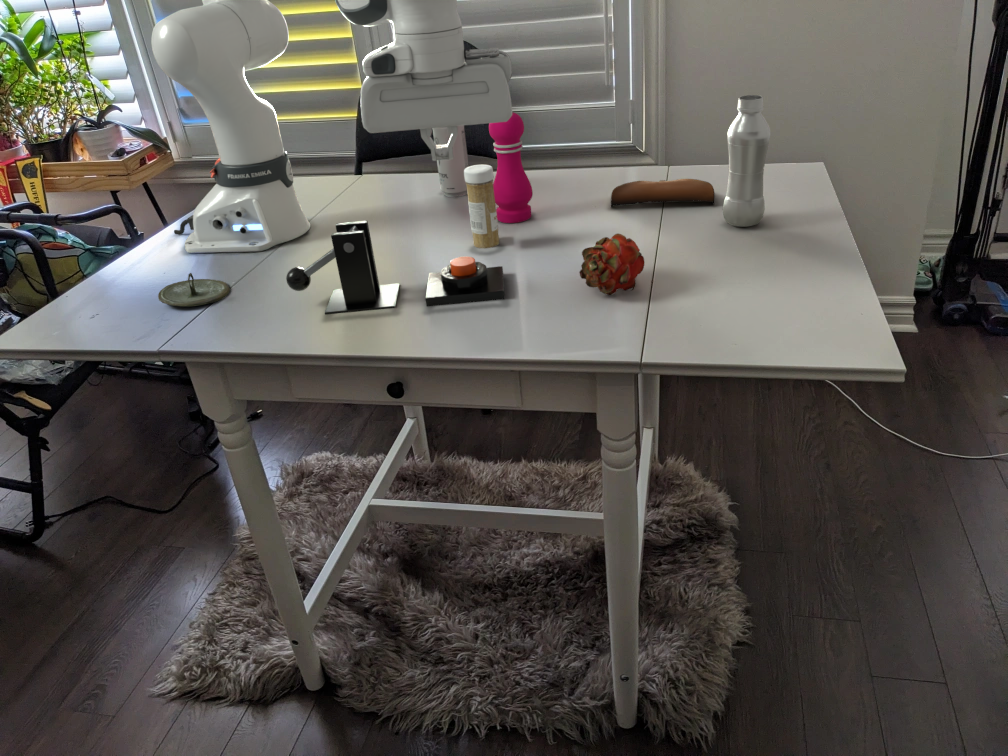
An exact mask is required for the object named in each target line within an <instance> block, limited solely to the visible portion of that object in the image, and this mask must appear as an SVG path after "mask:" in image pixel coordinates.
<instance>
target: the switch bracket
mask: <svg viewBox="0 0 1008 756" xmlns="http://www.w3.org/2000/svg"><path fill="white" fill-rule="evenodd" d="M353 226H356V227H357V228H358V230H359V231H351V232H347V231H348V230H349V229H351V228H352V227H353ZM335 229H336V232H332V233H331V235H330V238H331V242H332V246H333V248H334V253H335V262H336V266H337V271H338V275H339V280H340V281H339V282H340V285H341V288H335V289H332V292H331V295H330V298H329V299H328V300H329V301H328V303H327V305H326V307H325V310H324V315H335V314H346V313H356V312H368V311H378V310H391V309H396V305H397V303H398V302H397V301H398V297H399V292H400V287H401V283H399V282H398V283H390V284H389V283H388V284H380V281H379V276H378V271H377V265H376V260H375V254H374V249H373V243H372V238H371V232H370V227H369V222H368V220H357V221H349V222H348V221H347V222H338V223H336V224H335ZM365 238H366V240H365ZM333 248H332V249H333Z"/></svg>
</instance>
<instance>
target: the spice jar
mask: <svg viewBox="0 0 1008 756" xmlns="http://www.w3.org/2000/svg"><path fill="white" fill-rule="evenodd" d="M464 177H465V182H466V185H467V192H468V193H467V203H468V212H469V220H470V227H471V228H470V229H471V233H472V241H473V247H476V248H478V249H491V248H495V247H497V246H499V244H500V235H499V221H498V220H497V213H496V209H497V204H496V203H495V198H494V189H493V182H494V179H495V176H494V169H493V166H491V165H489V164H485V163H484V164H481V163H480V164H473V165H470V166H469V167H467V168H466V169H465V170H464Z"/></svg>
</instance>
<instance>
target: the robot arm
mask: <svg viewBox="0 0 1008 756" xmlns="http://www.w3.org/2000/svg"><path fill="white" fill-rule="evenodd" d="M201 2H202V5H197V6H193V7H188V8H182V9H179V10H177V11H175V12H173V13H171V14H169V15H168V16H166V17H164V18H163V19H161V20H158V22H157V23H155V25H154V27H153V29H152V32H151V39H150V40H151V41H150V42H151V49H152V53H153V54H152V55H153V57H154V59H155V62H156V63H157V65H158V67H159V68H160V69H161V70H162V72H163V73H164V74H165V76H167V77H168V78H170V79H171V80H173V81H174V82H177V84H179V85H181V86H183V87H184V88H185V89H186V90H187V91H188V92H189V93H190V94H191V95H192V96H193V97H194V99H195V100H196V101H197V103H198V104H199V106H200V107H201V109H202V111H203V113H204V115H205V117H206V119H207V121H208V124H209V127H210V129H211V133H212V136H213V140H214V143H215V146H216V151H217V153H218V159H216V160H215V162H214V165H213V166H212V167H211V170H210V171H209V174H210V178H211V179H214V181H215V184H214V186H213V187H211V189H210V190H209V191H208V192H207V193H206V195H205V196H204V197H203V199H201V200H200V201H199V203H198V204H197V206H195V209H194V210H193V214H192V215H190V216H189V217H187V218H186V219H184V220H182V222H181V223H180V224H179V229H174V231H173V234H174V235H177V236H180V235H183V234H184V233H185V230H186V229H185V228H186V226H187V225H189V227H190V228H189V229H190V231H192V232H191V233H190V234H189V235H188V236H187V238H186V239H185V241H184V249H185V251H186V253H189V254H197V253H201V254H202V253H205V254H206V253H240V252H242V253H244V252H245V253H247V252H262V251H265V250H268V249H270V248H272V247H274V246H276V245H280V244H283V243H285V242H290V241H291V240H295V239H297V238H299V237H301V236H303V235H305V234H306V233H307V232H308V231H309V230H310V228H311V223H310V221H309V220H308V218H307V216H306V214H305V212H304V210H303V208H302V205H301V202H300V201H299V198H298V195H297V191H296V189H295V186H294V174H293V169H292V164H291V161H290V159H289V155H288V152H287V151H286V150H285V149H284V144H283V140H282V136H281V131H280V127H279V122H278V118H277V113H276V111H275V108H274V107H273V105H272V104H271V103H270V102H268V101H267V100H265V99H263V98H261V97H258V96H257V95H256V94H255V93H254V91H253V89H252V88H251V87H250V85H249V83H248V81H247V79H246V76H245V72H247V71H252V70H255V69H258V68H261V67H265V66H267V65H268V64H269V63H271V62H272V61H274V60H276V59H278V57H280V56H282V54H284V52H285V51H286V49H287V47H288V44H289V38H290V37H289V28H288V24H287V21H286V18H285V16H284V14H283V13H282V11H281V10H280V8H278V7H277V6H276V5H275V4H273V2H271V1H269V0H201ZM334 2H335V5H336V6H337V8H338V10H339V11H340V13H341V14H342V16H343V17H344V18H345V19H346V20H347V21H349V22H350V23H352V24H353V25H355V26H360V27H361V26H362V27H375V26H381V25H387V24H392V27H393V30H392V31H393V32H392V33H393V42H391V43H389V44H385V45H384V46H382V47H379V48H378V49H375V50H373V51H371V52H370V53H368V54H367V55H366V56H365V57H364V59H363V60H362V70H363V73H364V75H365V76H366V78H365V79H364V80H363V82H362V84H361V87H360V115H361V123H362V127H363V129H364V130H365V131H367V132H368V133H369V134H377V133H378V134H379V133H391V132H401V131H413V130H419V132H420V138H421V139H422V140H423V142H424V143H425V145H426V146H427V147H428V149H429V150H430V153H431V161H432V162H437V161H438V160H451V159H453V145H454V143H455V140H456V138H457V136H458V132H459V128H458V126H462V125H464V126H473V125H484V124H489V123H498V122H507V121H508V120H509V119H510V117H511V116H512V112H513V104H512V98H511V91H510V87H509V82H510V81H511V80H512V76H513V65H512V59H511V57H510V55H509V53H507V52H505V51H504V50H500V49H499V47H489V48H485V49H484V48H483V49H482V48H476V49H475V48H474V49H465V44H464V33H463V25H462V23H463V22H462V20H461V17H460V15H459V11H458V5H457V3H458V2H457V0H334ZM439 127H447V129H448V134H449V135H451V134H452V135H451V137H450V139H449V142H448V144H444V145H436V144H435V143H434V139H433V137H432V134H433V128H439Z"/></svg>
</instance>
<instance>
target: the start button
mask: <svg viewBox="0 0 1008 756" xmlns="http://www.w3.org/2000/svg"><path fill="white" fill-rule="evenodd" d="M475 262H476V259H475V258H474V257H472V256H464V255H463V256H458V257H455V258H453V259H451V260H450V262H449V265H450V267H451V274H452V275H455V276H466V275H470V274H473V273H475V272H476V263H475Z"/></svg>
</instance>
